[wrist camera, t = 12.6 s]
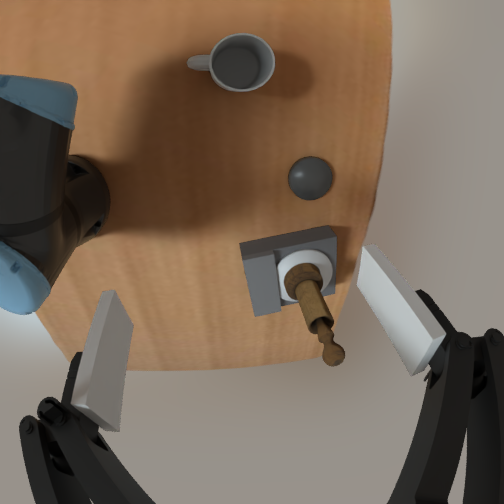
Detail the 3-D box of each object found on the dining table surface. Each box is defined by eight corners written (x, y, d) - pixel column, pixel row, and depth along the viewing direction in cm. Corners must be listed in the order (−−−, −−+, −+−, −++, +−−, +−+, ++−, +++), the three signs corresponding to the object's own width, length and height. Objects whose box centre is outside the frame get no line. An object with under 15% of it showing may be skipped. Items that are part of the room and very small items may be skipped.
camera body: (251, 297, 55) (254, 316, 51) (239, 243, 48) (242, 260, 43) (328, 280, 55) (337, 297, 51) (328, 225, 48) (339, 240, 44)
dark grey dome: (290, 200, 45) (292, 203, 44) (285, 159, 41) (287, 161, 40) (330, 193, 45) (332, 196, 44) (328, 153, 41) (331, 155, 40)
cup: (258, 93, 35) (271, 95, 27) (187, 89, 33) (180, 89, 26) (264, 48, 31) (278, 37, 23) (192, 43, 29) (186, 30, 22)
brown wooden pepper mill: (283, 265, 46) (316, 354, 31) (320, 260, 46) (365, 342, 31) (283, 295, 49) (310, 381, 34) (317, 289, 50) (354, 370, 35)
